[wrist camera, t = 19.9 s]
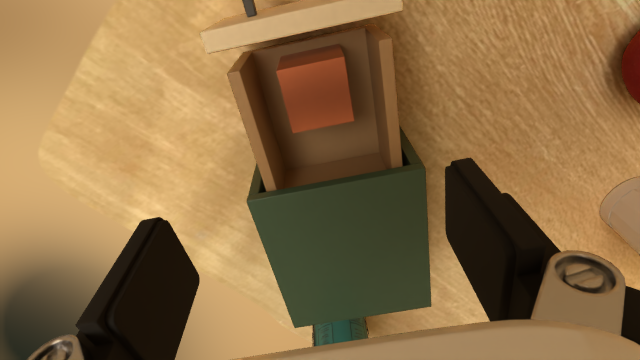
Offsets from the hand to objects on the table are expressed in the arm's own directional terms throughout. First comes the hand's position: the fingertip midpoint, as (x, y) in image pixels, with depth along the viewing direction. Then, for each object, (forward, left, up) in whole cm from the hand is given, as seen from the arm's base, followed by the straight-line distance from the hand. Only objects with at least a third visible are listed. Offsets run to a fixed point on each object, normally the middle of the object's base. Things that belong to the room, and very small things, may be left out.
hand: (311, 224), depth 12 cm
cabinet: (+13, +1, -20) cm, 23 cm away
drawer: (-2, +1, -19) cm, 19 cm away
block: (0, +1, -18) cm, 18 cm away
